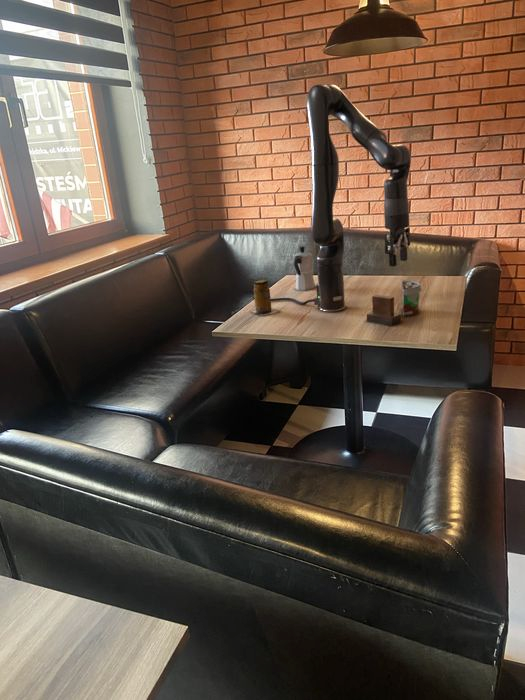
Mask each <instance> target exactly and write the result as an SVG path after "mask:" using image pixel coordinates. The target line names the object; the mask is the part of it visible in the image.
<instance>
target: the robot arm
mask: <svg viewBox="0 0 525 700" xmlns="http://www.w3.org/2000/svg"><path fill="white" fill-rule="evenodd" d="M306 96H307V97H306V109H307V118H308V126H309V137H310V139H309V140H310V156H311V157H310V159H311V160H310V167H311V168H310V169H311V191H312V193H311V194H312V213H311V216H312V217H311V229H310V231H311V232H310V234H311V237H312V240H313V242H314V243H315V244H316V245H317V246H319V251H318V253H317V255H316V269H317V270H316V271H317V283H316V284H315V288H316V297H314V298H311V299H308V300H305V301H299V300H297V299H295V298H292V297H277V298H276V297H275V298H270V299H271V302H278V301H291V302H294V303H296V304H298V305H300V306H301V305H303V306H304V305H306V304H308V303H313V304H314V306H315V305H316V306H317V309H318V310H320V311H321V312H324V313H335V312H340V311H343V310H345V309H346V302H345V301H346V299H345V283H344V265H343V263H344V261H343V258H344V254H345V234H344V233H345V232H344V231H345V230H344V227H343V223H342V222H341V220H340V219H339V218H338V217H335V216H334V208H333V207H334V200H335V196H336V193H337V189H338V185H339V181H340V180H339V178H340V163H339V162H340V160H339V154H338V151H337V149H336V146H335V144H334V142H333V140H332V137H331V133H330V127H329V126H330V125H329V116H332V117H334V118H335V119H338V120H339V121H341V122H342V123H343V124H344V125H345V127H346V128H347V130H348V131H349V133H350V135H351V137H352V138H353V140H355V142H357V143H358V145H360V146H361V147H362V148H364V150H366V151H367V152H369V154H370V156H371V157H372V159H373V160H374V161H375V163H376V165H378V166H379V167H381V169H383V170H386V171H389V177H388V178H387V179H386V180H384V183H383V193H384V195H383V196H384V203H383V211H384V212H383V214H384V215H383V216H384V228H385V229H386V230H389V233H388V234H384V254H385V255H388V266H389V267H392V268H393V267H397V265H398V263H397V262H398V261H397V251H398V249H399V259H400V260H399V261H401V262H406V261H408V250H409V247H410V246H411V232H410V230H411V229H410V227H409V226H410V205H409V203H410V202H409V195H408V181H409V180H408V179H409V177H410V176H409V175H410V170H411V161H412V157H411V151H410V149H409V147H408V146H406V145H404V144H393V145H392V144H390V143H389V142H388V141H387V140H388V136H387V134H386V132H384V131H383V130H382V129H381V128H379V127H378V126H377V125H376V124H374V123H373V122H372V121H371V120H369V118H367V117H366V116H365V115H364V114H363V113H362V112H361V111H360V110H359V109H358V108H357V107H356V106H355V105H354V104H353V102H352V101H351V100H350V99H349V97H347V95H346V94H345V93H344V92H343V91H342V90H341V88H340V87H339V86H337V85H335V84H330V83H329V84H323V83H322V84H321V83H320V84H319V83H317V84H314V85H313V86H311V87H310V88H309V90H308V93H307V95H306ZM252 300H255V298H254V296H253V297H252Z"/></svg>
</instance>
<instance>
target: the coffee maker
mask: <svg viewBox="0 0 525 700" xmlns="http://www.w3.org/2000/svg"><path fill="white" fill-rule="evenodd" d="M292 257H293V266H294V269H295V272H296V274H295V287H294V289H295V290H296V291H310V290H314V289H315V288H316V283H315V279H314V276H313V272H312V270H313V253H311V252H306V251H305V246H304V245H303V246H299V252H298V253H295V254H293V255H292Z"/></svg>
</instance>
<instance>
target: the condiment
mask: <svg viewBox="0 0 525 700" xmlns="http://www.w3.org/2000/svg"><path fill="white" fill-rule="evenodd" d="M253 297H254V298H255V299H254V306H255V310H251V311H250V312H251V313H254V314H256V315H258V316H267V315H273V314H277V313H278V312H279V311H278V310H275V309H272V301H271V299H272V298H271V290H270V287H269V281H268V280H267V279H257V280H254V282H253Z"/></svg>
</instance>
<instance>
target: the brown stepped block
mask: <svg viewBox="0 0 525 700" xmlns="http://www.w3.org/2000/svg"><path fill="white" fill-rule="evenodd" d="M371 301H372V302H371V303H372V310H371V311H370V312H368V313H366V322H367V323H373V324H379V325H384V326H390V327H393V326H395V325H397V324H399V323H401V313H396V312H395V297H394V296H390V295H389V296H388V295H381V294H374V295H371Z"/></svg>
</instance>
